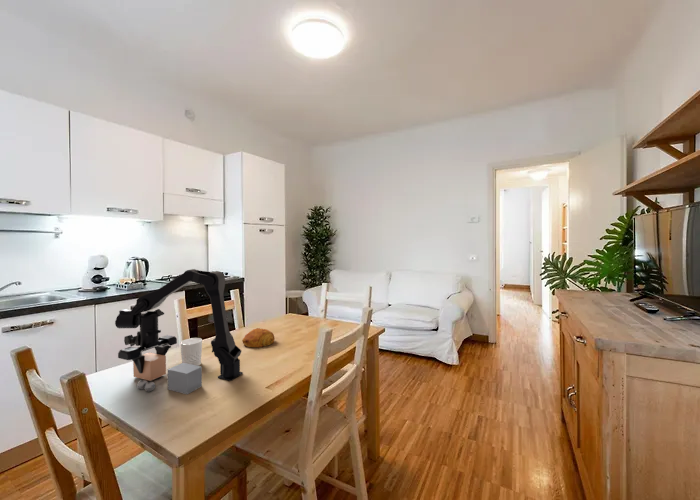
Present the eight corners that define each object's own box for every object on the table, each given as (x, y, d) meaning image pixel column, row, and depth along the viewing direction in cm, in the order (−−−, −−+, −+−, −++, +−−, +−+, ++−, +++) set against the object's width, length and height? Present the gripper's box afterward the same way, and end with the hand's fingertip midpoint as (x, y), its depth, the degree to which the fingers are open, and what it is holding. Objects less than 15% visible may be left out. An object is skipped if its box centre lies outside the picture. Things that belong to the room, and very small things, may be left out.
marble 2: (157, 389, 103) (157, 381, 103) (148, 393, 101) (148, 385, 101) (151, 388, 105) (151, 379, 104) (142, 392, 102) (142, 383, 102)
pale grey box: (201, 386, 106) (201, 366, 106) (187, 394, 101) (186, 373, 100) (183, 381, 109) (182, 362, 109) (167, 389, 104) (167, 369, 104)
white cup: (193, 370, 119) (193, 345, 119) (176, 368, 121) (175, 343, 121) (206, 362, 127) (206, 338, 127) (190, 360, 129) (189, 337, 128)
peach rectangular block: (166, 374, 114) (165, 355, 114) (150, 380, 108) (150, 361, 108) (149, 370, 117) (149, 352, 117) (133, 376, 112) (133, 357, 111)
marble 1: (149, 387, 105) (149, 379, 105) (140, 391, 102) (140, 383, 102) (143, 386, 106) (143, 377, 106) (134, 390, 103) (134, 381, 103)
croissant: (260, 341, 161) (259, 325, 161) (280, 342, 152) (278, 326, 152) (236, 348, 149) (235, 331, 150) (255, 350, 140) (254, 333, 140)
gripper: (157, 319, 124) (158, 357, 124) (107, 332, 106) (108, 376, 107) (177, 322, 120) (178, 361, 120) (128, 336, 102) (129, 381, 103)
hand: (149, 369), depth 113 cm, fingers open, 6 cm apart
